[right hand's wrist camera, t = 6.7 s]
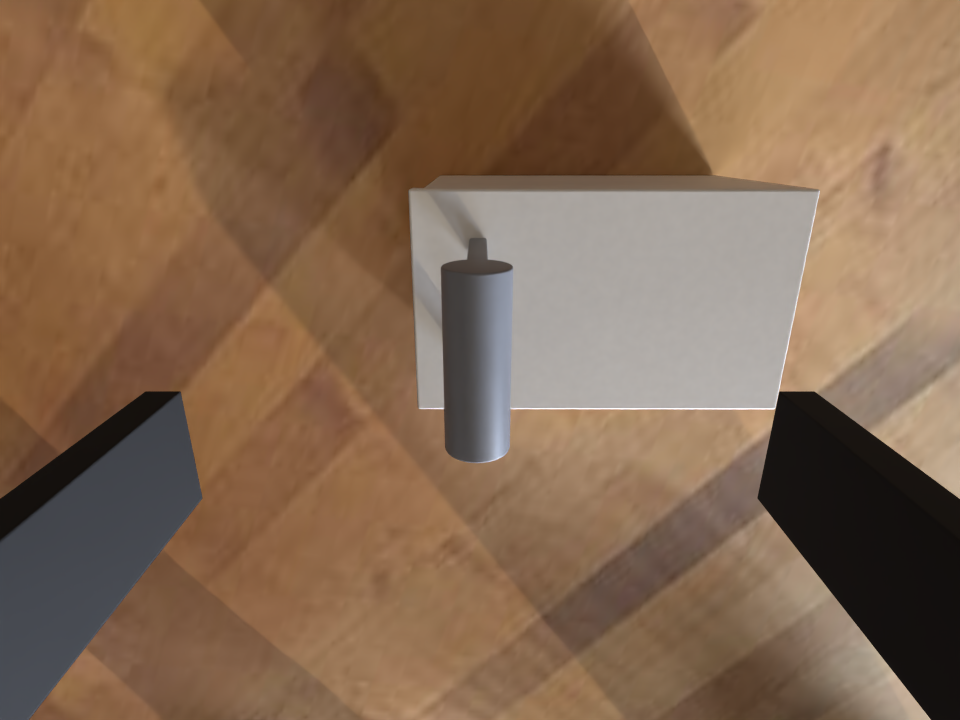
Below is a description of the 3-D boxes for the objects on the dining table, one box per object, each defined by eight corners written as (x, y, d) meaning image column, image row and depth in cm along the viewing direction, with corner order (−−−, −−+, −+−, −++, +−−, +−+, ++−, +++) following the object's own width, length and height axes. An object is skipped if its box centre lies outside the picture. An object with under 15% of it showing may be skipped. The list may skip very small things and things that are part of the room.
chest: (443, 335, 35) (430, 401, 26) (439, 175, 31) (423, 187, 23) (693, 335, 35) (766, 401, 26) (716, 175, 31) (808, 187, 23)
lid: (419, 401, 26) (393, 509, 18) (410, 187, 23) (374, 209, 15) (767, 401, 26) (887, 509, 18) (809, 187, 23) (977, 209, 15)
